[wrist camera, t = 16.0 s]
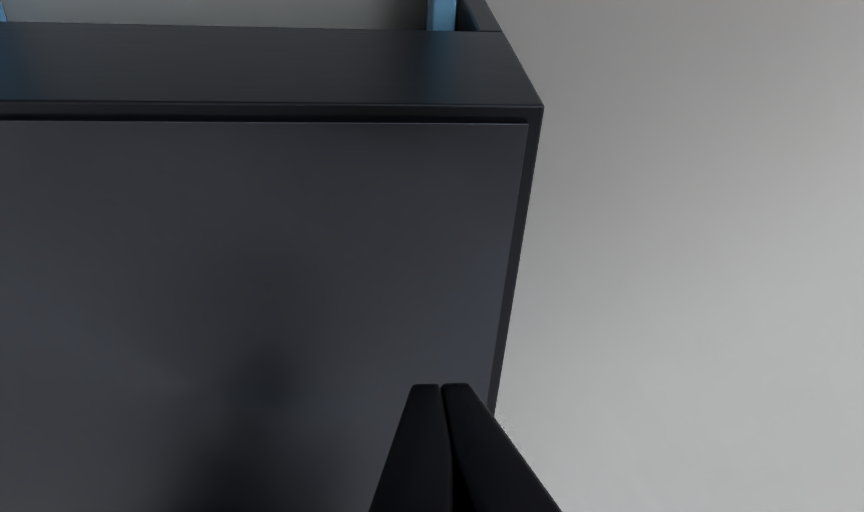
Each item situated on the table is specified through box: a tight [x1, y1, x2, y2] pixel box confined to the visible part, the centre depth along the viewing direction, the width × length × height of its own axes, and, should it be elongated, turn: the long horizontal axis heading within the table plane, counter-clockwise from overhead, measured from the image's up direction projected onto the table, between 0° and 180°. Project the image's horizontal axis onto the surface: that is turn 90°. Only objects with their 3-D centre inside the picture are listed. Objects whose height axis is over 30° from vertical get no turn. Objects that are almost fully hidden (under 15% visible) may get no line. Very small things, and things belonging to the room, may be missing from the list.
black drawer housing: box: [0, 0, 544, 512], centre depth 19 cm, size 14×14×8 cm
